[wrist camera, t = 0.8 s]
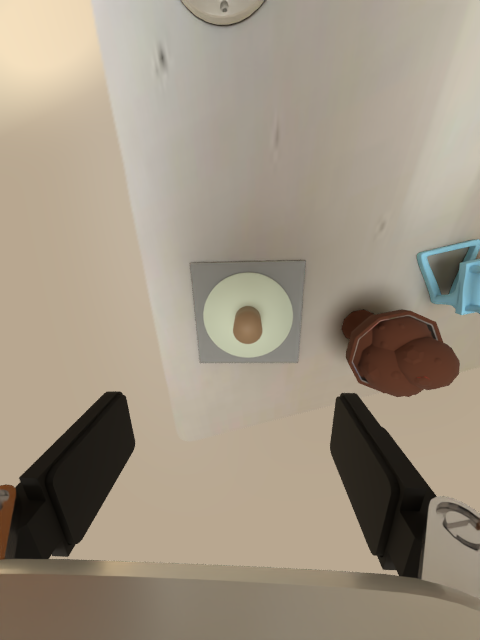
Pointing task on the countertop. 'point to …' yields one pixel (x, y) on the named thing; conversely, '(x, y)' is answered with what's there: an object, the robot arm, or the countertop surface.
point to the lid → (248, 315)
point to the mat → (279, 271)
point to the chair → (456, 279)
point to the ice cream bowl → (398, 352)
